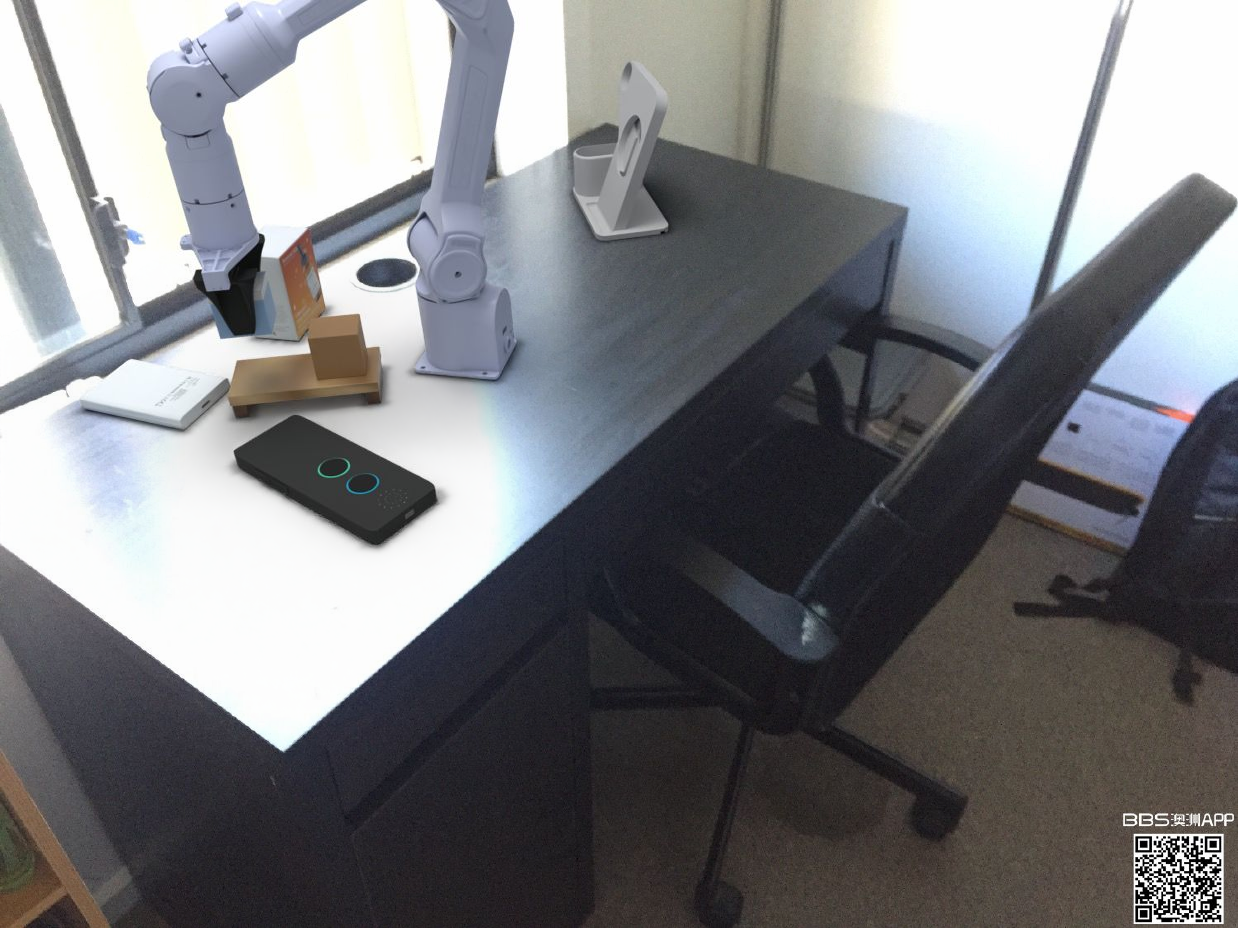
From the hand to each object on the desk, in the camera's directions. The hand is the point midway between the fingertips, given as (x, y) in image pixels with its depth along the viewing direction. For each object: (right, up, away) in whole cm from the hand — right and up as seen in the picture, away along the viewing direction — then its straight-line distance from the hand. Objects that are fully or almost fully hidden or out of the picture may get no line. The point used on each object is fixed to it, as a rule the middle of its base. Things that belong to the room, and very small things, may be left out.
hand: (247, 320), depth 105 cm
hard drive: (-12, -8, +7) cm, 16 cm away
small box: (-1, +2, +19) cm, 19 cm away
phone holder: (+37, +21, +41) cm, 59 cm away
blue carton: (0, 0, 0) cm, 1 cm away
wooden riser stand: (+4, -7, +7) cm, 10 cm away
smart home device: (+10, -16, -5) cm, 20 cm away
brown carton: (+8, -4, +6) cm, 11 cm away
